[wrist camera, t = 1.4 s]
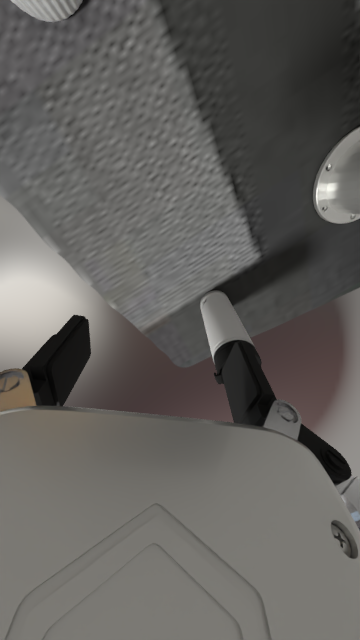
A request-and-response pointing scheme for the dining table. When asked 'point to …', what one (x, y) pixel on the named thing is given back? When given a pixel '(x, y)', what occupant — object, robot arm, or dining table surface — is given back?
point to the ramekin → (49, 8)
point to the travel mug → (222, 329)
